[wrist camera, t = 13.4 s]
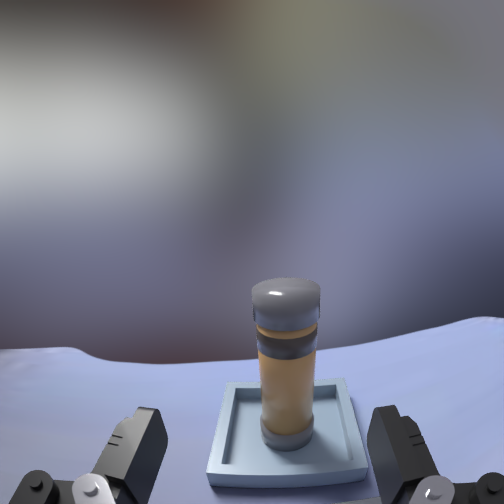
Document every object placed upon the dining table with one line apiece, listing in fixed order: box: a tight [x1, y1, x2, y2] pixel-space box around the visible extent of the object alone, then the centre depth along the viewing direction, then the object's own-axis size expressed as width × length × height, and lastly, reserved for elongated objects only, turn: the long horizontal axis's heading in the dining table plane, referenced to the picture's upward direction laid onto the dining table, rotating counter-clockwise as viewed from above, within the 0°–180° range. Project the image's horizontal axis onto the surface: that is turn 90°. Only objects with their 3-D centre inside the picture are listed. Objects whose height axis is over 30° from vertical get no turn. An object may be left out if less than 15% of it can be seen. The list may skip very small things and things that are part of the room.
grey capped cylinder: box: [252, 278, 320, 452], centre depth 23 cm, size 5×5×14 cm
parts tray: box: [206, 378, 368, 488], centre depth 24 cm, size 12×12×2 cm
